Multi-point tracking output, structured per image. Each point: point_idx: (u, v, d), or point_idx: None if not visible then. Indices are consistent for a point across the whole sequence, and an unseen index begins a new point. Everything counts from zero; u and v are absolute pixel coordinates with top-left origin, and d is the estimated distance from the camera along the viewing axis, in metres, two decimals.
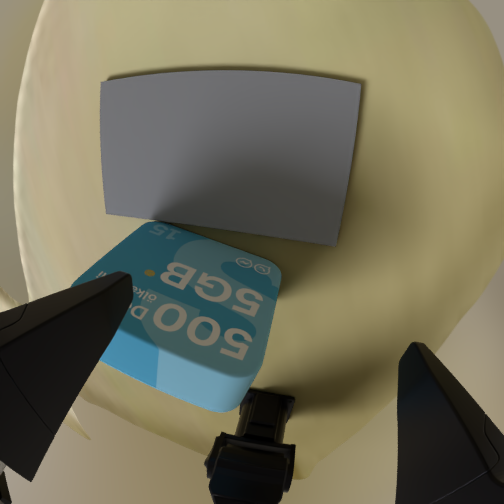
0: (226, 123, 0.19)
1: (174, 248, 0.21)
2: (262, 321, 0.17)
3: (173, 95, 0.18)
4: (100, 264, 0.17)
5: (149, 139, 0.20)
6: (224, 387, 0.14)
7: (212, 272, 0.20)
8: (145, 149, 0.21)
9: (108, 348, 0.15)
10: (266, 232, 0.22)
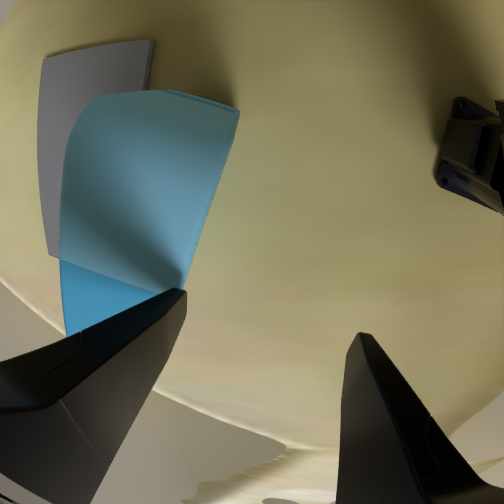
0: (62, 151, 0.20)
1: None
2: None
3: (50, 193, 0.22)
4: None
5: None
6: (99, 158, 0.07)
7: None
8: None
9: None
10: None
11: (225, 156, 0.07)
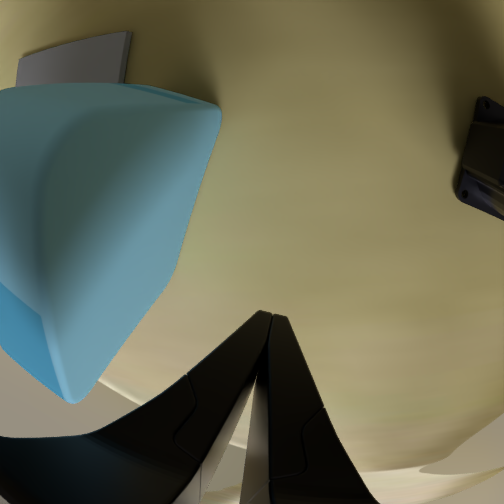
0: None
1: None
2: None
3: None
4: None
5: None
6: None
7: None
8: None
9: (21, 347, 0.08)
10: None
11: (60, 141, 0.04)
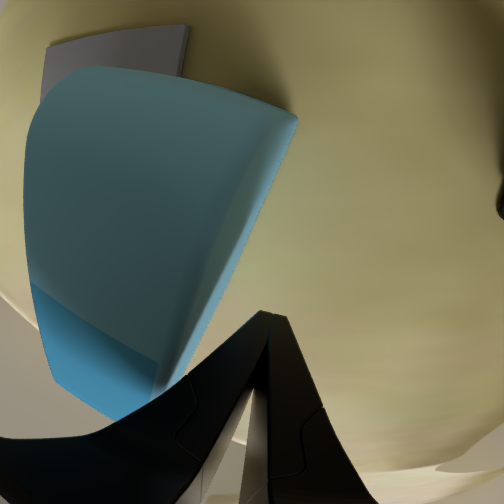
0: None
1: None
2: None
3: None
4: None
5: None
6: (58, 149, 0.04)
7: None
8: None
9: (95, 386, 0.07)
10: None
11: (249, 154, 0.04)
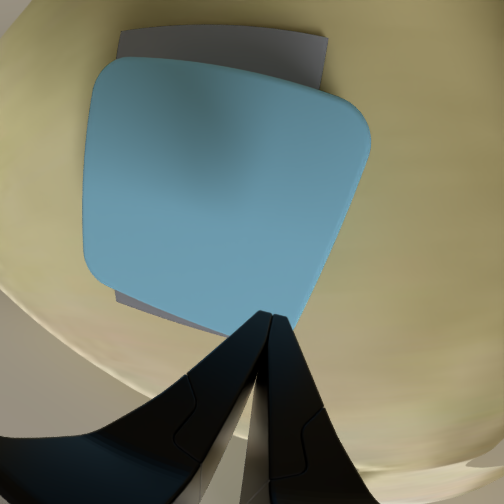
0: None
1: None
2: None
3: None
4: None
5: None
6: None
7: None
8: None
9: None
10: None
11: (104, 68, 0.09)
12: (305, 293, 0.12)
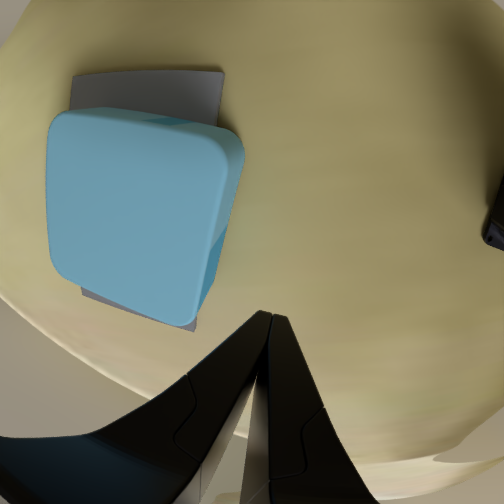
0: None
1: None
2: None
3: None
4: None
5: None
6: None
7: None
8: None
9: None
10: None
11: (53, 119, 0.13)
12: (196, 283, 0.16)
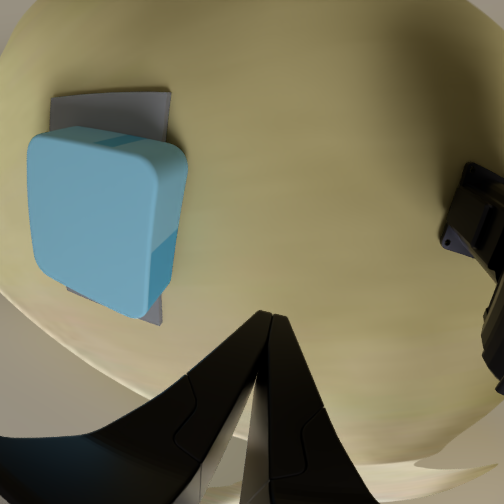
0: None
1: None
2: None
3: None
4: None
5: None
6: None
7: None
8: None
9: None
10: None
11: (30, 141, 0.15)
12: (143, 281, 0.18)
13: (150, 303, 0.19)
